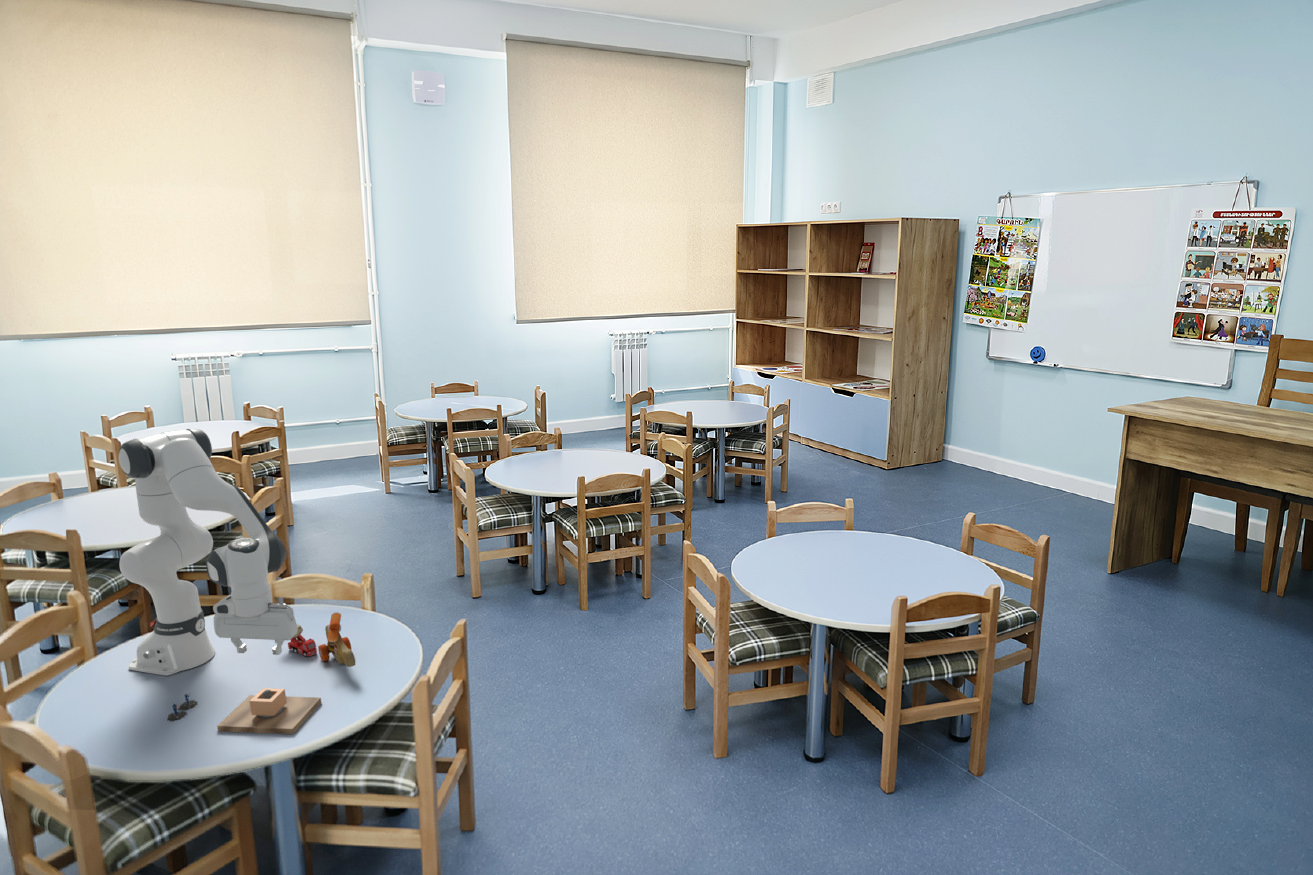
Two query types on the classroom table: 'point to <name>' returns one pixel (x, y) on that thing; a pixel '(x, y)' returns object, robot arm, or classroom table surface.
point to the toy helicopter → (336, 644)
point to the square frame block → (268, 702)
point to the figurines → (184, 706)
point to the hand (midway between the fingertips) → (259, 652)
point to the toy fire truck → (302, 644)
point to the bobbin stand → (280, 723)
